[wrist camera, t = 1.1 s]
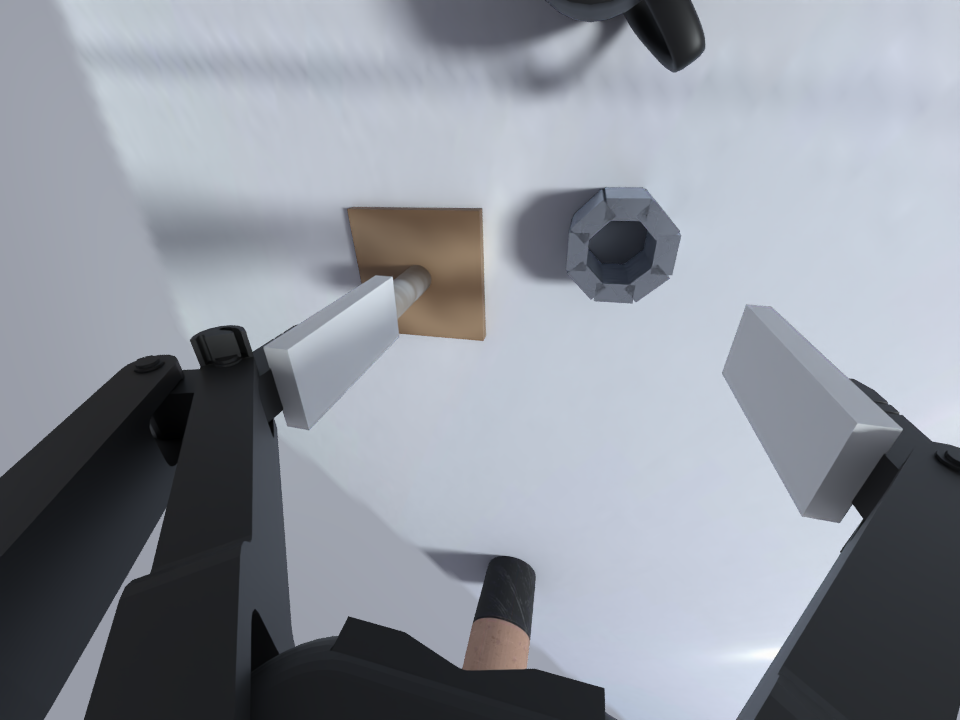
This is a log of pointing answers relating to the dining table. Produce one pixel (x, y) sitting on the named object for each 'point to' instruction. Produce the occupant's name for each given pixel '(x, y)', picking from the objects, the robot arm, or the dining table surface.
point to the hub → (642, 268)
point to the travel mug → (502, 617)
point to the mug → (648, 25)
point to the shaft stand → (426, 266)
